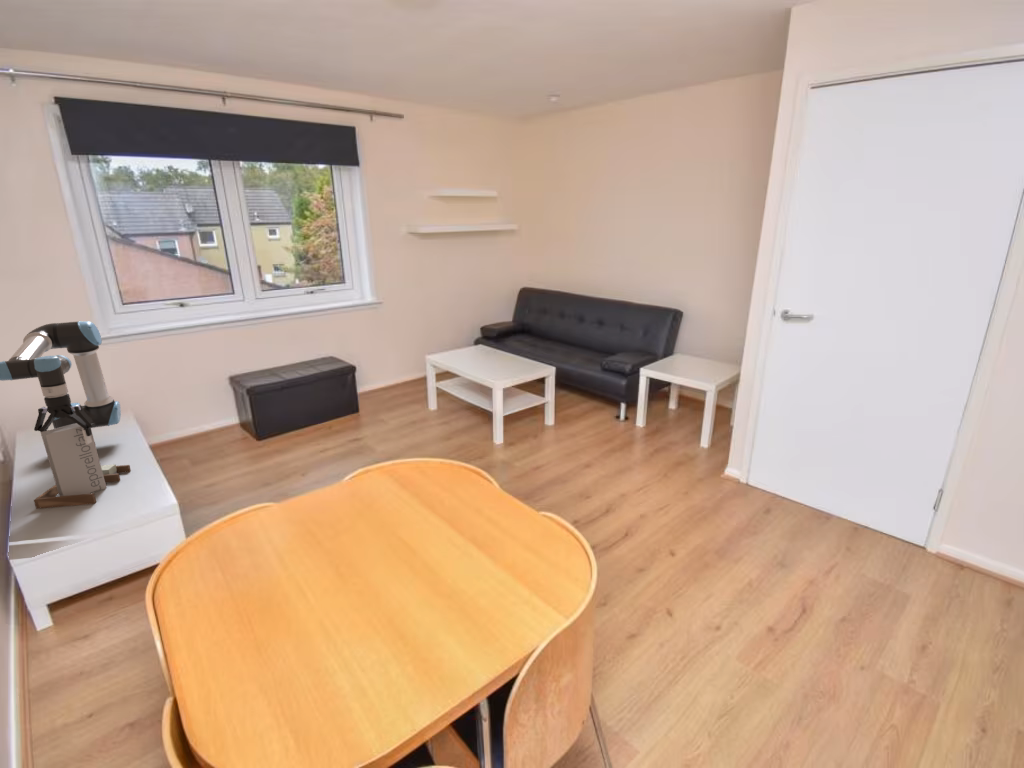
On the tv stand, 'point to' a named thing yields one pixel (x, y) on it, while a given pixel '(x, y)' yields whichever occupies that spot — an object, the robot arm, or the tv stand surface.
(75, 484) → the brochure
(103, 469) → the offcut upper
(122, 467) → the rack
